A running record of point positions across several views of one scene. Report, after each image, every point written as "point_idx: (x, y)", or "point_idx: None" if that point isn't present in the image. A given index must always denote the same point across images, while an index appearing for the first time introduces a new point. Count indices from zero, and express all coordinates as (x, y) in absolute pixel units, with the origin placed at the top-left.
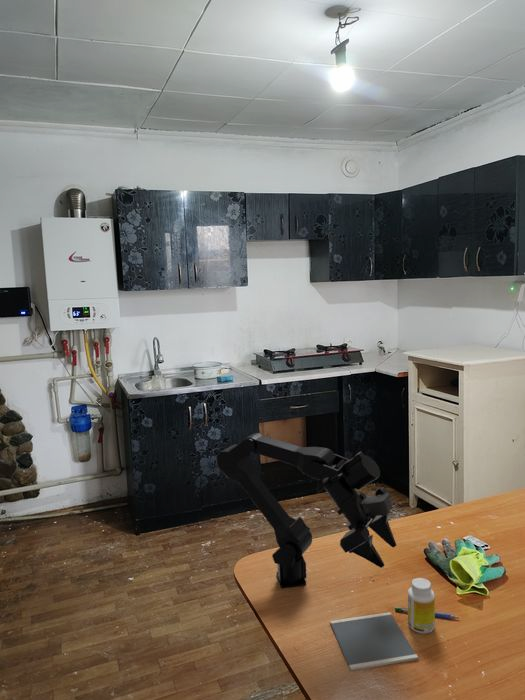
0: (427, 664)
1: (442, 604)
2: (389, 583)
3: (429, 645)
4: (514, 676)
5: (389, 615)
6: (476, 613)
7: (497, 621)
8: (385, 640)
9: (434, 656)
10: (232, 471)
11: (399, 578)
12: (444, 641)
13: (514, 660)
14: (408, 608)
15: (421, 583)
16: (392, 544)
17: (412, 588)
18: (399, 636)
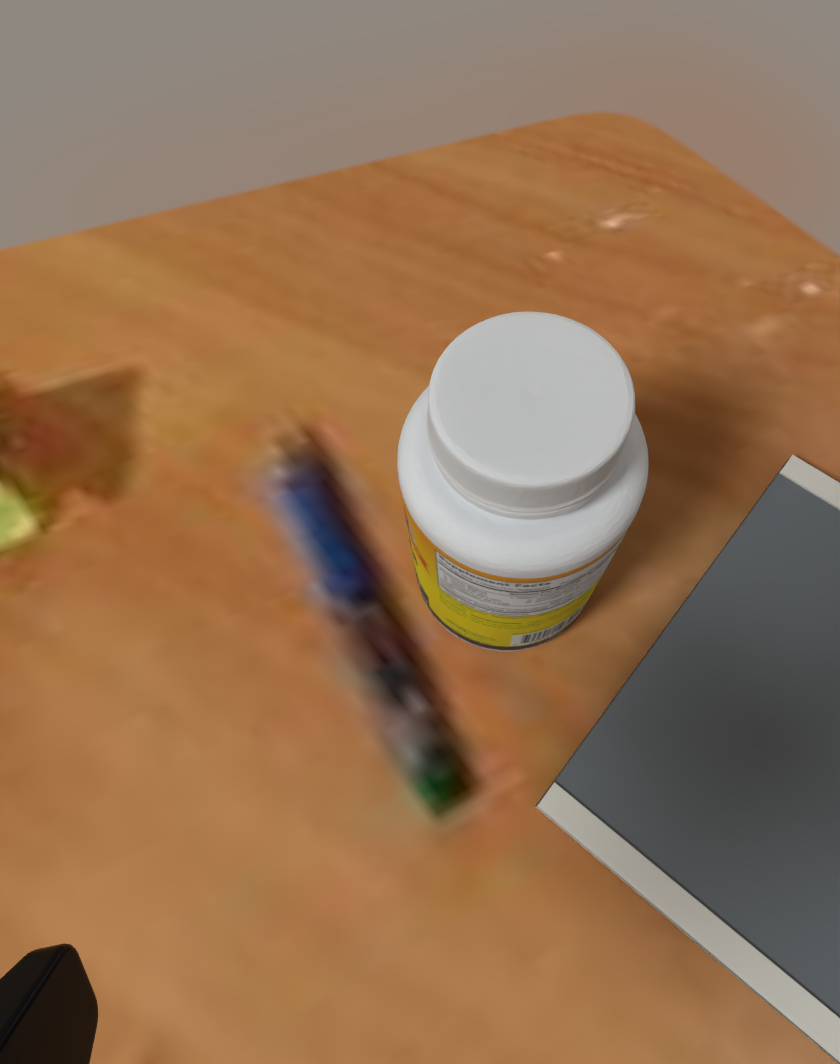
0: (772, 413)
1: (203, 556)
2: (143, 1039)
3: None
4: (538, 137)
5: (574, 791)
6: (185, 377)
7: (198, 283)
8: (830, 679)
9: (687, 411)
10: None
11: None
12: None
13: (440, 161)
14: (590, 588)
15: (534, 389)
16: (62, 1039)
17: (607, 476)
18: (719, 622)
